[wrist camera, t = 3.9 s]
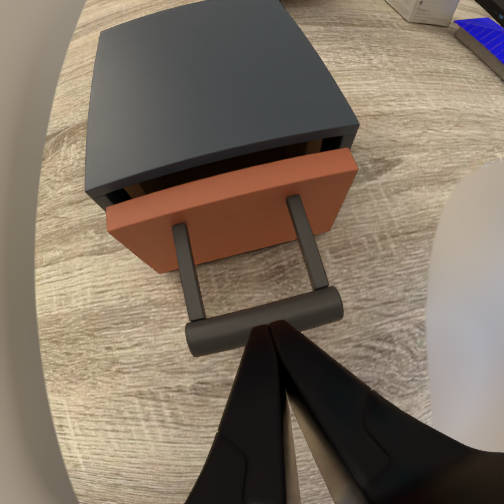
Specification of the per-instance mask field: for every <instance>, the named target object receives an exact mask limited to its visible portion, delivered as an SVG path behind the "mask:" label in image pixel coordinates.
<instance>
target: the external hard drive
mask: <svg viewBox="0 0 504 504" xmlns="http://www.w3.org/2000/svg"><path fill="white" fill-rule="evenodd" d="M475 1H476V2H477V3H478V4H479V5H481V6H482V7H483V8H484V9H485V10H486V11H487V12H488V13H489V14H490V15H491V16H492V17H493V18H494V19H495V20H496V21H497V22H498V23H499V24H500V25H501V26H502V27H503V28H504V0H475Z"/></svg>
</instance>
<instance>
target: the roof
mask: <svg viewBox="0 0 504 504" xmlns="http://www.w3.org/2000/svg"><path fill="white" fill-rule="evenodd" d="M453 22H454V23H455V24H457V25H458V26H459V29H458V32H457V34H456V36H455V37H456V38H457V39H459V40H460V41H461V42H462V43H463V44H465V45H466V46H467V47H468V48H469V49H470V50H472V51H473V52H474V53H475V54H476V55H477V56H478V57H479V58H481V59H482V60H483V61H484V62H485V63H486V64H487V65H488V66H489V67H490V68H491V69H492V70H493V71H494V72H495V73H496V74H497V75H498V76H499V77H500V78H501V79H502V80H503V81H504V28H502V27H501V26H500V25H498V24H497V23H495V22H494V21H492V20H491V19H490V18H476V19H465V20H456V21H453Z"/></svg>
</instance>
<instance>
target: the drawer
mask: <svg viewBox="0 0 504 504" xmlns="http://www.w3.org/2000/svg"><path fill="white" fill-rule="evenodd" d="M322 141H323V139H318V140H312V141H307V142H302V143H297V144H291V145H286V146H281V147H277V148H272V149H267V150H263V151H258V152H254V153H249V154H245V155H240V156H236V157H232V158H228V159H224V160H220V161H216V162H212V163H208V164H204V165H200V166H196V167H193V168H189V169H185V170H182V171H178V172H175V173H171V174H168V175H164V176H161V177H157V178H154V179H151V180H147V181H144V182H141V183H138V184H134V185H131V186H128V187H125V188H124V189H125V190H126V192H127V193H128V194H129V195H130V197H131V198H132V199H131V200H128V201H124V202H121V203H118V204H115V205H112V206H109V207H106V218H107V231H108V233H109V234H111V235H112V236H113V237H114V238H115V239H117V240H118V241H119V242H120V243H121V244H123V245H124V246H125V247H126V248H128V249H129V250H130V251H131V252H133V253H134V254H135V255H136V256H138V257H139V258H140V259H141V260H143V261H144V262H145V263H146V264H148V265H149V266H150V267H151V268H153V269H154V270H155V271H157V272H158V273H159V274H161V273H165V272H169V271H173V270H177V269H179V271H180V277H181V282H182V287H183V292H184V297H185V302H186V307H187V311H188V316H189V320H190V321H191V322H189V323H187V324H186V326H185V334H186V340H187V344H188V347H189V350H190V352H191V354H192V355H193V356H194V357H200V356H205V355H209V354H214V353H218V352H223V351H227V350H231V349H236V348H240V347H244V346H246V344H247V340H248V337H249V334H250V331H251V329H252V327H254V326H257V325H261V324H268V326H269V323H270V322H273V321H277V320H280V319H284V320H286V321H287V322H288V323H290V324H291V325H292V326H293V327H295V328H296V329H297V330H298V331H300V332H301V331H305V330H308V329H312V328H315V327H319V326H322V325H325V324H329V323H332V322H335V321H339V320H341V319H342V318H343V316H344V310H343V304H342V300H341V297H340V294H339V292H338V290H337V289H336V288H335V287H334V286H330V287H328V286H329V283H328V279H327V276H326V273H325V270H324V267H323V263H322V260H321V257H320V254H319V251H318V248H317V245H316V242H315V239H314V236H313V235H315V234H319V233H323V232H327V231H330V229H331V227H332V225H333V223H334V221H335V218H336V216H337V214H338V212H339V210H340V208H341V206H342V204H343V202H344V200H345V197H346V195H347V193H348V191H349V189H350V187H351V185H352V182H353V180H354V178H355V176H356V174H357V171H358V167H357V165H356V163H355V161H354V158H353V156H352V154H351V152H350V150H349V148H341V149H336V150H330V151H325V152H320V150H321V145H322ZM296 239H298V243H299V246H300V249H301V252H302V256H303V259H304V262H305V265H306V269H307V272H308V275H309V279H310V282H311V285H312V289H313V291H312V292H308V293H305V294H301V295H297V296H294V297H290V298H286V299H283V300H279V301H275V302H271V303H267V304H264V305H260V306H256V307H252V308H248V309H244V310H240V311H236V312H232V313H228V314H224V315H219V316H215V317H211V318H206V314H205V309H204V305H203V300H202V296H201V291H200V286H199V282H198V277H197V272H196V267H195V265H197V264H201V263H205V262H209V261H213V260H216V259H220V258H224V257H228V256H232V255H236V254H240V253H244V252H248V251H252V250H256V249H260V248H264V247H268V246H272V245H276V244H280V243H284V242H288V241H292V240H296Z"/></svg>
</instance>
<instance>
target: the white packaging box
mask: <svg viewBox="0 0 504 504" xmlns="http://www.w3.org/2000/svg"><path fill="white" fill-rule="evenodd" d="M385 1H386V2H388V3H389V4H390V5H391V6H392V7H393V8H394V9H395V10H396V11H397V12H398V13H399V14H400V15H401V16H402V17H403V18H404V19H405V20H407V21H408V22H417V23H427V24H434V25H441V26H445V27H448V26H449V24H450V21H451V19H452V17H453V14H454V12H455V10H456V7H457V5H458V2H459V0H385Z"/></svg>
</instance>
